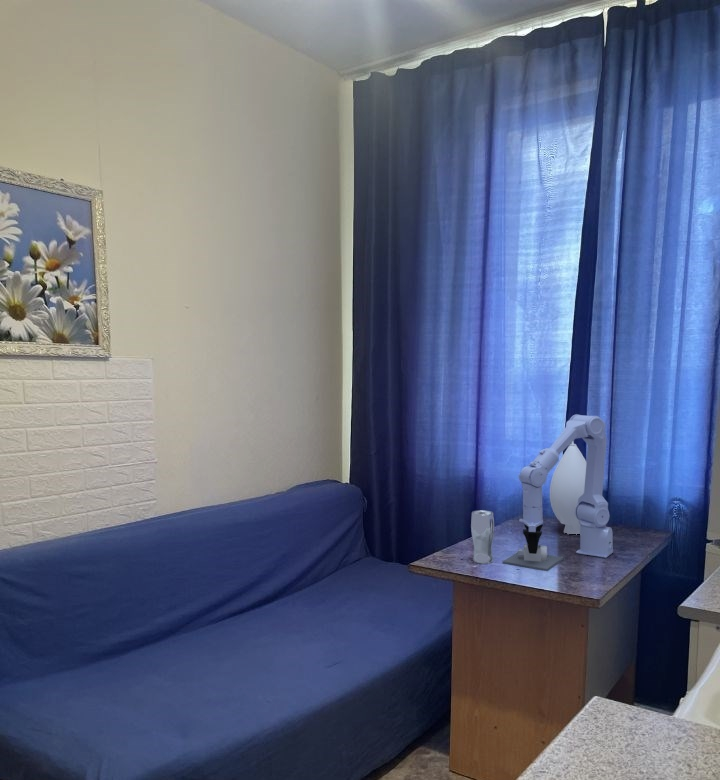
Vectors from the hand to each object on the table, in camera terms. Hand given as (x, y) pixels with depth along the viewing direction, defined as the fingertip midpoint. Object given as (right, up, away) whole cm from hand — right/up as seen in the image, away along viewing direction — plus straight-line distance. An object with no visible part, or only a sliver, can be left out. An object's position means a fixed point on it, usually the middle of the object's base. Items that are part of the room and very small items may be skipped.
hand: (533, 549), depth 197 cm
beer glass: (-15, -4, +1) cm, 16 cm away
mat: (0, -4, 0) cm, 3 cm away
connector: (0, -3, 0) cm, 3 cm away
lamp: (+23, -2, +33) cm, 41 cm away
